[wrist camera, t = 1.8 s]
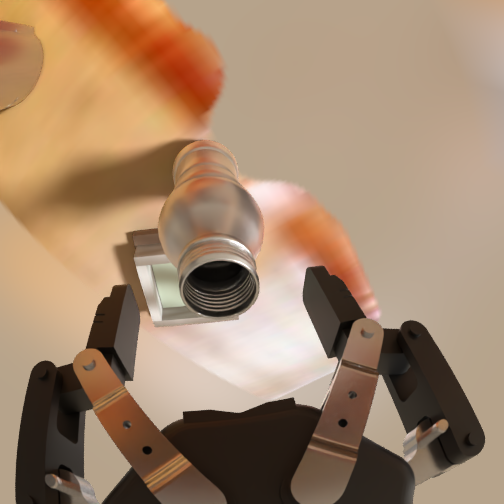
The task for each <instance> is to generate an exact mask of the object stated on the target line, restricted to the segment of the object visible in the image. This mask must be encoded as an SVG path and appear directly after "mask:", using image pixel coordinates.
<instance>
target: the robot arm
mask: <svg viewBox="0 0 504 504" xmlns="http://www.w3.org/2000/svg"><path fill="white" fill-rule="evenodd" d="M42 63H43V49H42V45H41V43H40V41H39V39H38V38H37V37H36V36H35V35H34V27H32V26H27V25H23V24H18V23H12V22H6V21H0V110H3V109H6V108H8V107H12V106H15V105H16V104H18V103H20V102H21V101H22V100H24V99H25V98H26V97H27V96H28V94H29V93H30V92H31V91H32V89H33V87H34V86H35V84H36V82H37V80H38V78H39V75H40V72H41V69H42ZM303 302H304V305H305V308H306V310H307V312H308V314H309V316H310V319H311V321H312V323H313V325H314V328H315V330H316V332H317V334H318V337H319V339H320V341H321V343H322V346H323V348H324V350H325V352H326V355H327V357H328V358H333V357H337V359H338V364H337V366H336V369H335V372H334V375H333V378H332V380H331V383H330V385H329V388H328V391H327V393H326V396H325V398H324V400H323V402H322V405H321V407H320V409H317V408H315V407H312V406H307V405H301V404H295V401H294V398H288V399H283V400H278V401H272V402H267V403H265V404H262V405H260V406H257V407H254V408H252V409H249V410H247V411H244V412H241V413H234V412H224V411H215V410H201V411H187V412H183V419H180V420H178V421H175V422H173V423H171V424H170V425H168V426H167V427H165V428H164V429H163V430H161V431H160V430H159V429H158V428H157V427H156V426H155V425H154V423H153V422H152V421H151V420H150V419H149V417H148V416H147V415H146V414H145V413H144V411H143V410H142V409H141V408H140V407H139V405H138V404H137V403H136V401H135V400H134V399H133V397H132V396H131V395H130V393H129V392H128V391H127V389H126V388H125V387H124V386H125V381H133V375H134V365H135V356H136V348H137V340H138V332H139V325H140V313H139V309H138V306H137V303H136V300H135V297H134V294H133V291H132V288H131V286H130V285H129V284H127V285H115V286H113V288H112V292H111V295H110V297H105V298H104V299H103V300H102V301H101V303H100V304H99V305H98V308H97V311H96V314H95V315H96V316H95V318H94V321H93V324H92V328H91V331H90V335H89V338H88V342H87V346H86V349H85V350H83V351H81V352H80V353H79V354H78V355H77V356H76V357H75V359H74V361H73V363H71V364H68V365H64V366H61V367H56V366H55V365H54V364H53V363H52V362H50V361H42V362H39V363H38V364H37V365H36V366H34V368H33V369H32V371H31V375H30V379H29V383H28V387H27V391H26V396H25V401H24V406H23V412H22V418H21V424H20V431H19V439H18V448H17V459H16V482H15V486H16V487H15V488H16V489H15V492H16V496H15V497H16V504H99V503H98V501H97V499H96V497H95V493H94V490H93V487H92V486H91V484H90V483H89V482H88V481H87V480H85V479H84V429H85V412H86V410H90V409H93V410H94V412H95V414H96V416H97V417H98V419H99V421H100V422H101V424H102V425H103V427H104V428H105V430H106V431H107V433H108V434H109V436H110V437H111V439H112V440H113V442H114V443H115V445H116V446H117V447H118V449H119V450H120V451H121V453H122V454H123V455H124V457H125V458H126V459H127V461H128V462H129V463H130V465H131V466H132V467H131V468H130V470H129V471H128V472H127V473H126V474H125V476H124V477H123V478H122V479H121V481H120V482H119V483H118V484H117V485H116V487H115V488H114V489H113V490H112V491H111V493H110V494H109V495H108V496H107V498H105V500H104V501H103V502H102V504H413V495H414V490H415V486H417V485H418V484H421V483H423V482H424V481H426V480H428V479H430V478H433V477H436V476H439V475H441V474H443V473H445V472H447V471H449V470H451V469H453V468H455V467H456V466H458V465H460V464H462V463H464V462H465V461H467V460H469V459H471V458H472V457H474V456H476V455H477V454H479V453H480V452H481V450H482V449H483V447H484V443H485V435H484V432H483V429H482V427H481V425H480V423H479V421H478V419H477V417H476V415H475V413H474V411H473V409H472V407H471V405H470V403H469V401H468V399H467V397H466V395H465V393H464V391H463V389H462V388H461V386H460V384H459V382H458V380H457V379H456V377H455V375H454V373H453V371H452V370H451V368H450V366H449V365H448V363H447V361H446V360H445V358H444V356H443V355H442V353H441V351H440V350H439V348H438V346H437V345H436V344H435V342H434V340H433V338H432V337H431V335H430V334H429V332H428V331H427V329H426V328H425V327H424V326H423V325H422V324H421V323H419V322H417V321H411V320H410V321H406V322H404V323H403V324H402V325H401V328H400V329H384V328H382V326H381V325H380V324H379V323H378V322H376V321H374V320H372V319H368V318H366V316H365V315H364V313H363V311H362V310H361V308H360V307H359V305H358V304H357V302H356V300H355V299H354V297H352V294H351V293H350V291H349V290H348V288H347V286H346V285H345V283H344V282H343V281H342V280H341V279H339V278H338V277H337V276H335V275H331V276H330V274H329V273H328V271H327V270H326V268H325V267H324V266H315V267H308V268H307V269H306V275H305V281H304V288H303ZM379 375H382V376H383V379H384V381H385V383H386V385H387V388H388V390H389V392H390V394H391V397H392V399H393V401H394V404H395V406H396V408H397V410H398V413H399V415H400V418H401V420H402V423H403V425H404V428H405V430H406V433H407V436H406V437H405V439H404V443H403V447H404V450H403V452H404V454H405V455H404V459H403V458H402V457H400V456H398V455H396V454H394V453H392V452H391V451H389V450H387V449H385V448H383V447H381V446H380V445H378V444H376V443H374V442H373V441H371V440H369V439H368V438H366V437H364V436H363V433H364V429H365V426H366V423H367V419H368V416H369V413H370V409H371V405H372V401H373V398H374V394H375V390H376V386H377V382H378V377H379Z"/></svg>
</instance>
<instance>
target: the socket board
mask: <svg viewBox="0 0 504 504" xmlns="http://www.w3.org/2000/svg"><path fill="white" fill-rule="evenodd" d="M132 237H133V241H134V245H135V249H136V251H135V254H134V261H135V265H136V268H137V272H138V275H139V279H140V282H141V286H142V289H143V292H144V296H145V299H146V302H147V305H148V308H149V311H150V314H151V317H152V320H153V323H154V326H155V327H167V326H179V325H191V324H201V323H211V322H220V321H229V320H238V319H239V317H238V316H236V317H233V318H229V319H223V320H214V319H207V318H203V317H201V316H198V315H196V314H195V313H193V312H191V311H190V310H189V309H188V308H187V307H186V306H185V304H184V303H183V301H182V298H181V295H180V291H179V278H178V273H177V268H175V267H174V266H173V264H172V263H171V262H170V261H169V260H168V258H167V256H166V255H165V253H164V250H163V248H162V245H161V242H160V239H159V233H158V229H149V230H140V231H134V233H133V236H132Z"/></svg>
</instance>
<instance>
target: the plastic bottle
mask: <svg viewBox="0 0 504 504" xmlns="http://www.w3.org/2000/svg"><path fill="white" fill-rule="evenodd" d="M172 171H173V181H174V185H175V188H174V190H173V191H172V192H171V194H170V195H169V197H168V198H167V200H166V202H165V203H164V206H163V208H162V210H161V213H160V217H159V222H158V233H159V239H160V242H161V245H162V248H163V250H164V253H165V255H166V256H167V258H168V260H169V261H170V262H171V263H172V264H173V266H174V267H175V268H177V273H178V278H179V291H180V295H181V298H182V301H183V303H184V304H185V306H186V307H187V308H188V309H189V310H190V311H191V312H193V313H195V314H196V315H198V316H201V317H203V318H207V319H214V320H223V319H229V318H233V317H236V316H239V315H240V314H242V313H244V312H246V311H247V310H248V309H249V308H250V307H251V306H252V305H253V304H254V303H255V301H256V299H257V297H258V294H259V278H258V275H257V272H256V263H255V259H256V258H257V256H258V254H259V252H260V250H261V246H262V243H263V235H264V221H263V216H262V213H261V210H260V208H259V206H258V204H257V203H256V201H255V200H254V198H253V197H252V195H251V194H250V193H249V192H248V191H247V190H246V189H245V188H244V187H243V186H242V185H241V184H240V183H239V182H238V165H237V162H236V159H235V157H234V156H233V154H232V152H231V151H229V149H228V148H226V147H225V146H224V145H222V144H220V143H218V142H215V141H210V140H200V141H196V142H193V143H191V144H189V145H187V146H186V147H184V148H183V149H182V150H181V151H180V152H179V154H178V155H177V157H176V159H175V161H174V164H173V170H172Z"/></svg>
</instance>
